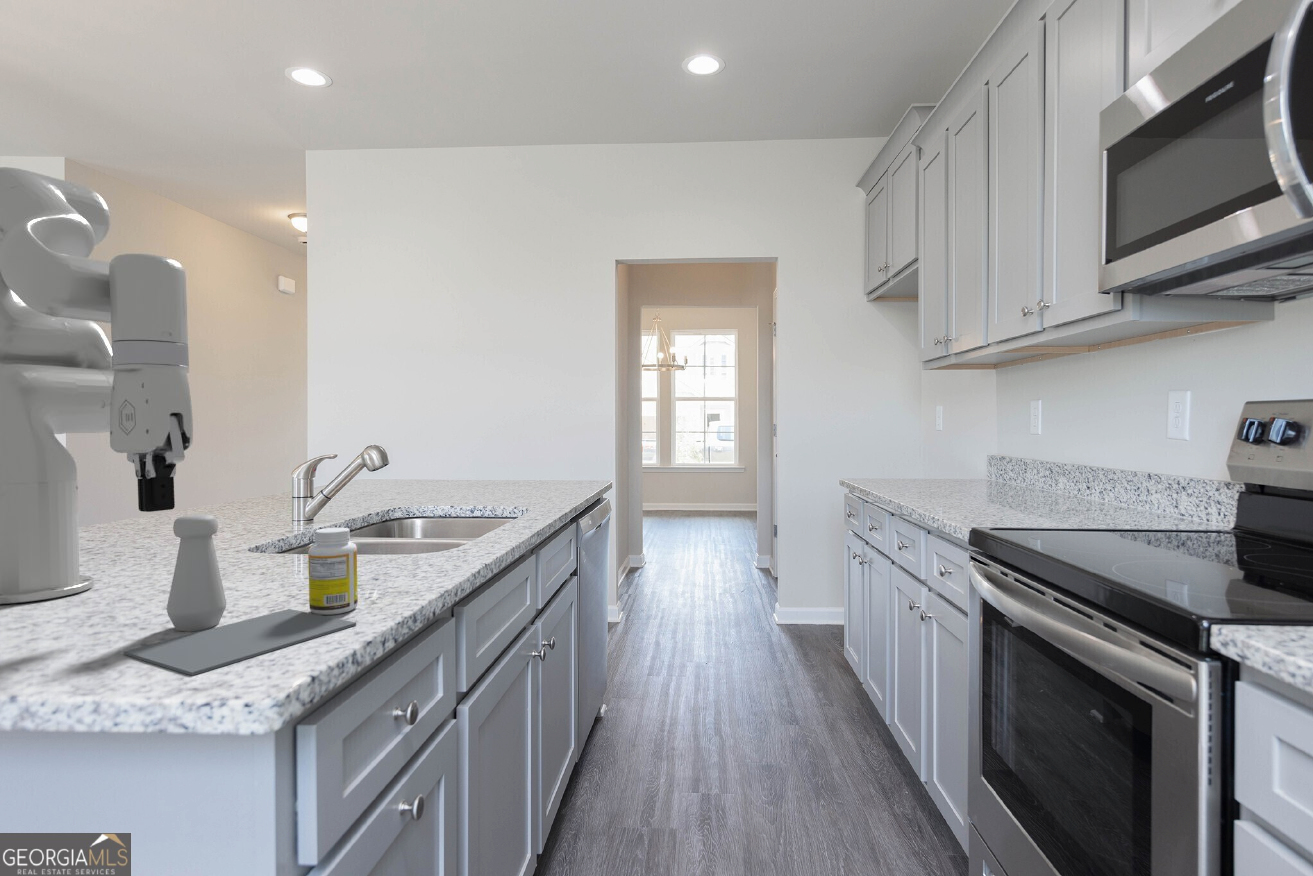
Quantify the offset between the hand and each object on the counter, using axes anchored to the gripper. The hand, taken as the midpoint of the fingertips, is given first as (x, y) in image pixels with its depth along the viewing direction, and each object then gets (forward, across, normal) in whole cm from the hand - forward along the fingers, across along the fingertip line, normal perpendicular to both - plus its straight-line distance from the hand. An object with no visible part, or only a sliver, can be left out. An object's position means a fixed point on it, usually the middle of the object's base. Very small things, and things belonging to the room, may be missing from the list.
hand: (156, 510), depth 84 cm
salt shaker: (+13, +8, 0) cm, 16 cm away
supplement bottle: (+14, +16, +12) cm, 24 cm away
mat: (+13, +18, 0) cm, 22 cm away
